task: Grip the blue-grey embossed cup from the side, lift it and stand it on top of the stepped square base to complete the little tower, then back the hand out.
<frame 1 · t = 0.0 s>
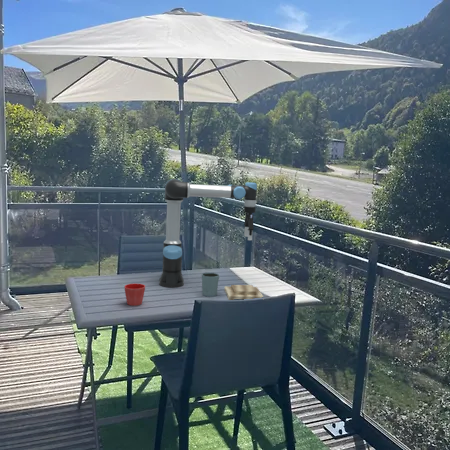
hand: (248, 238, 295), 28 cm above the table, tool pointing down, fingers open, 13 cm apart
stepped square base: (243, 294, 266), on the table
flower pot: (134, 303, 240), on the table
blue-grey embossed cup: (209, 294, 263), on the table
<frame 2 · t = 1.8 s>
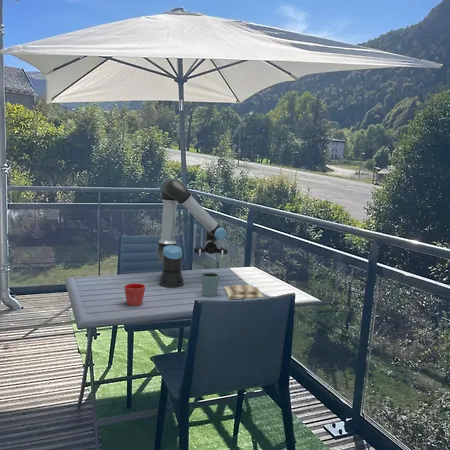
hand: (211, 254, 269), 22 cm above the table, tool horizontal, fingers open, 13 cm apart
nothing on the table moved.
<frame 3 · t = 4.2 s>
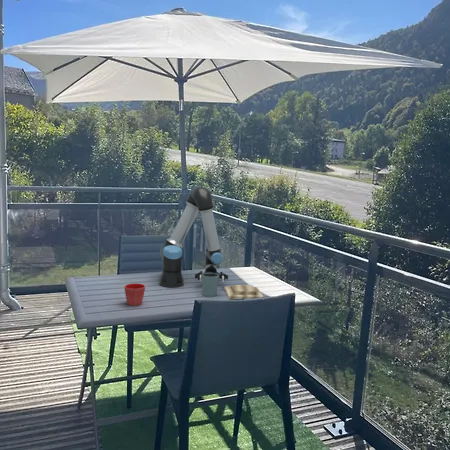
hand: (211, 280, 268), 7 cm above the table, tool horizontal, fingers open, 13 cm apart
nothing on the table moved.
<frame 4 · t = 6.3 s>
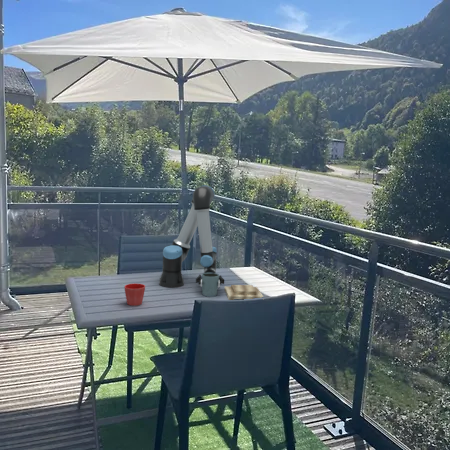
hand: (210, 284, 258), 7 cm above the table, tool horizontal, fingers closed on blue-grey embossed cup, 9 cm apart
blue-grey embossed cup: (209, 294, 263), on the table, touching gripper
everything else where it was.
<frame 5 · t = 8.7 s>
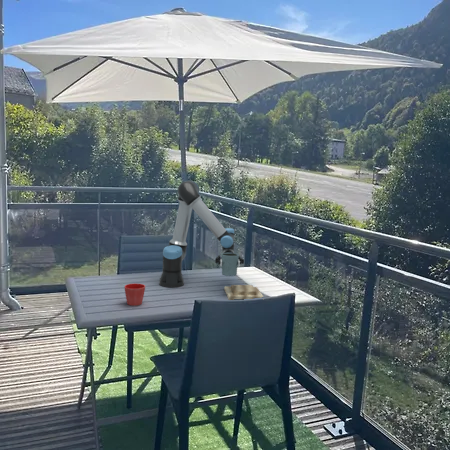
hand: (230, 264, 256), 20 cm above the table, tool horizontal, fingers closed on blue-grey embossed cup, 9 cm apart
blue-grey embossed cup: (229, 274, 262), point 12 cm above the table, touching gripper
everything else where it was.
when the fingers open (12 cm above the table, at t = 11.1 s): blue-grey embossed cup drops 1 cm, resting on stepped square base.
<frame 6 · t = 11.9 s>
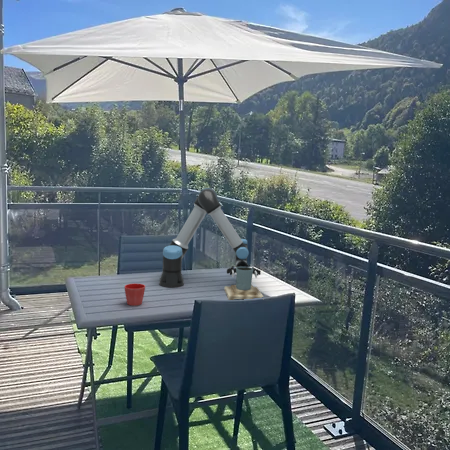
hand: (244, 275, 261), 13 cm above the table, tool horizontal, fingers open, 13 cm apart
blue-grey embossed cup: (243, 288, 265), point 4 cm above the table, touching stepped square base
everything else where it was.
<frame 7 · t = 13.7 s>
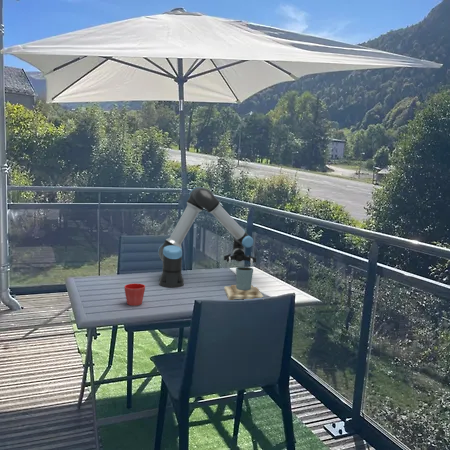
hand: (241, 261, 274), 17 cm above the table, tool horizontal, fingers open, 13 cm apart
nothing on the table moved.
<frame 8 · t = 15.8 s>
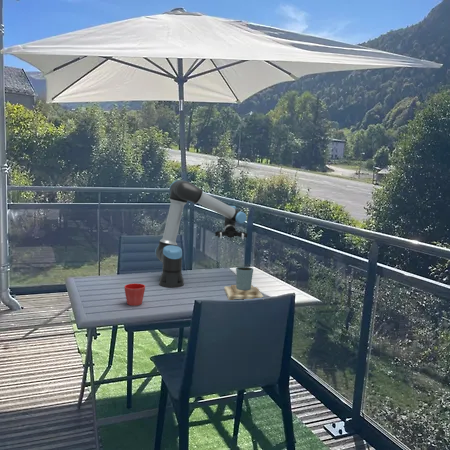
hand: (232, 236, 275), 32 cm above the table, tool horizontal, fingers open, 13 cm apart
nothing on the table moved.
at the end: blue-grey embossed cup inside the target area on the stepped square base (0.0 cm from its centre), point 3.8 cm above the stepped square base's base; blue-grey embossed cup tilted 0°; the gripper is holding nothing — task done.
